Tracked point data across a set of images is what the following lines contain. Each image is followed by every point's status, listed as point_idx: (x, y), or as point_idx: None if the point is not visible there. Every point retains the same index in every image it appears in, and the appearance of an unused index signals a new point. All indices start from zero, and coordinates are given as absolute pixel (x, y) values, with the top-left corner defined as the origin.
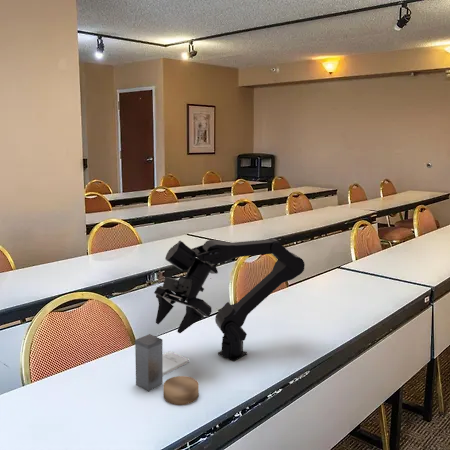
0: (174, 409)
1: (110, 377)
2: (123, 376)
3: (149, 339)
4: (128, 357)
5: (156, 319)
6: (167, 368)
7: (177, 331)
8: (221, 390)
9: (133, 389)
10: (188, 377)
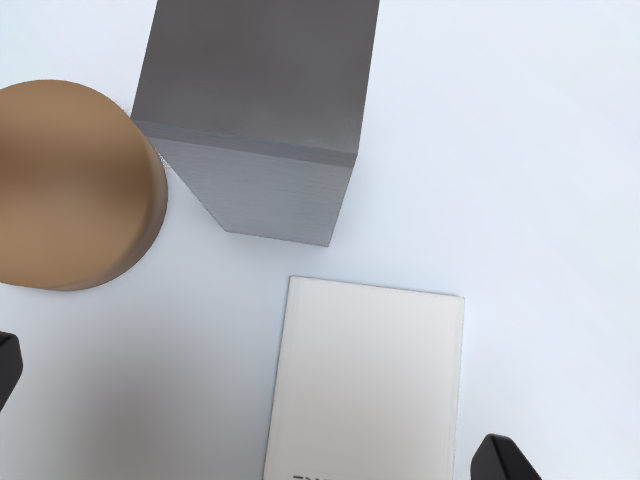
0: (33, 80)
1: (509, 137)
2: (462, 182)
3: (259, 39)
4: (611, 373)
5: (529, 472)
6: (293, 369)
7: (12, 335)
8: None
9: None
10: (45, 276)
